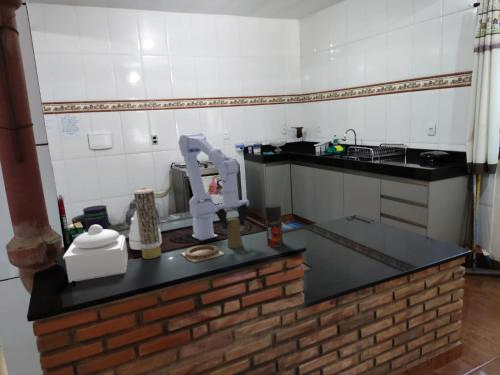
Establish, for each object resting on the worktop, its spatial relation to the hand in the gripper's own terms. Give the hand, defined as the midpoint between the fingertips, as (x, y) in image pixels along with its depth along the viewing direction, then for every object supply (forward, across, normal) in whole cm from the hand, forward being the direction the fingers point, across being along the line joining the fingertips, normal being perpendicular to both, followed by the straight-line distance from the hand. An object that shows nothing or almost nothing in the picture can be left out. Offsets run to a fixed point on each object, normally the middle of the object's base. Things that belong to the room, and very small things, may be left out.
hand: (233, 226), depth 139 cm
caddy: (+8, -14, 0) cm, 16 cm away
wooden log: (+8, -29, +12) cm, 32 cm away
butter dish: (+8, -47, +13) cm, 50 cm away
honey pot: (+8, -26, +29) cm, 40 cm away
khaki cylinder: (+8, 0, 0) cm, 8 cm away
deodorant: (+8, +12, -10) cm, 17 cm away
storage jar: (+8, -40, +53) cm, 67 cm away
